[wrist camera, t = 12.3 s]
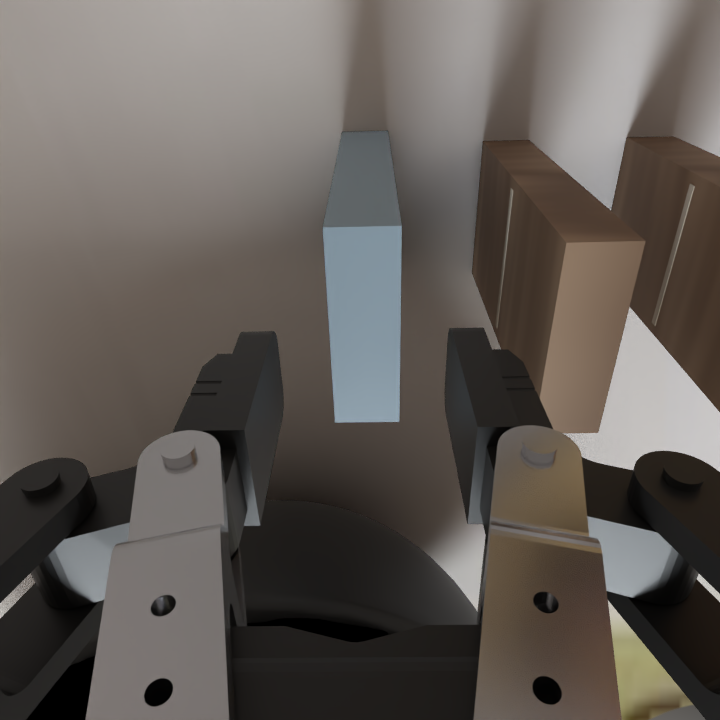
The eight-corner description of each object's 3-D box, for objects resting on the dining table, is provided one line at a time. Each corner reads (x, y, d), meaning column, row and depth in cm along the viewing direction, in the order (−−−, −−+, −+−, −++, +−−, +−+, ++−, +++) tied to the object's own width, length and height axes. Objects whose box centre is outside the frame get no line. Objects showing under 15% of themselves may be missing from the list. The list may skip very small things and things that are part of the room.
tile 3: (598, 270, 23) (735, 430, 14) (626, 137, 20) (813, 237, 12) (640, 269, 23) (802, 429, 14) (673, 136, 20) (897, 235, 12)
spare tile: (347, 265, 23) (333, 422, 14) (341, 131, 20) (321, 227, 12) (388, 264, 23) (400, 421, 14) (388, 130, 20) (402, 225, 12)
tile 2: (471, 272, 23) (532, 433, 14) (482, 141, 20) (565, 242, 12) (512, 272, 23) (598, 432, 14) (529, 140, 20) (647, 241, 12)
